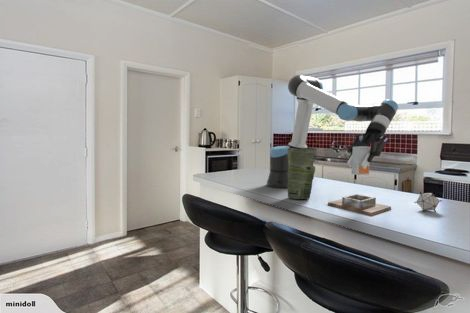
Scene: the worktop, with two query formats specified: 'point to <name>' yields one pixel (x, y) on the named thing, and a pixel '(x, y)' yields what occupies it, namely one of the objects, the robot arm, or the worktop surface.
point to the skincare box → (360, 160)
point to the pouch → (300, 172)
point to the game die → (427, 201)
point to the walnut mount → (360, 204)
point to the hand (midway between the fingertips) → (356, 166)
